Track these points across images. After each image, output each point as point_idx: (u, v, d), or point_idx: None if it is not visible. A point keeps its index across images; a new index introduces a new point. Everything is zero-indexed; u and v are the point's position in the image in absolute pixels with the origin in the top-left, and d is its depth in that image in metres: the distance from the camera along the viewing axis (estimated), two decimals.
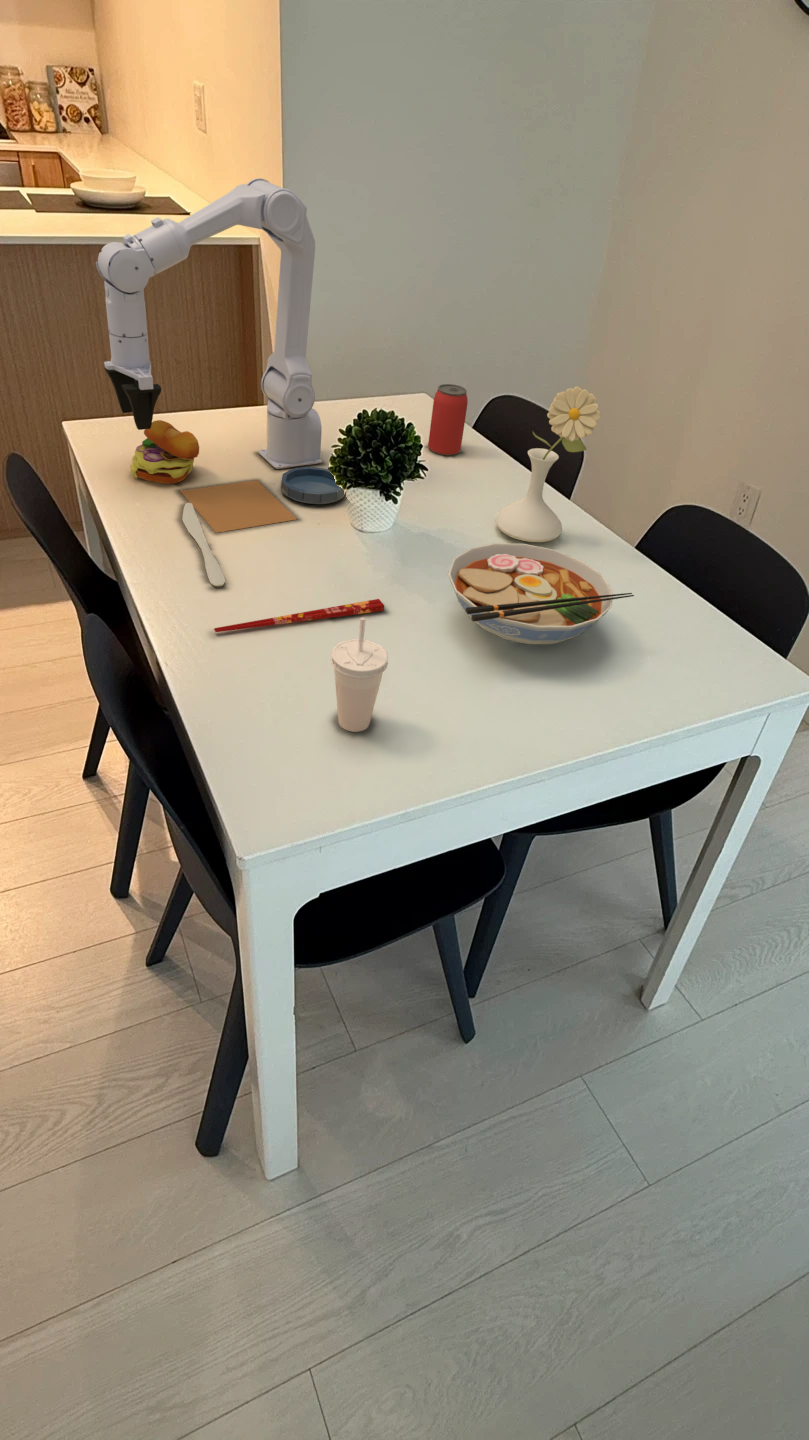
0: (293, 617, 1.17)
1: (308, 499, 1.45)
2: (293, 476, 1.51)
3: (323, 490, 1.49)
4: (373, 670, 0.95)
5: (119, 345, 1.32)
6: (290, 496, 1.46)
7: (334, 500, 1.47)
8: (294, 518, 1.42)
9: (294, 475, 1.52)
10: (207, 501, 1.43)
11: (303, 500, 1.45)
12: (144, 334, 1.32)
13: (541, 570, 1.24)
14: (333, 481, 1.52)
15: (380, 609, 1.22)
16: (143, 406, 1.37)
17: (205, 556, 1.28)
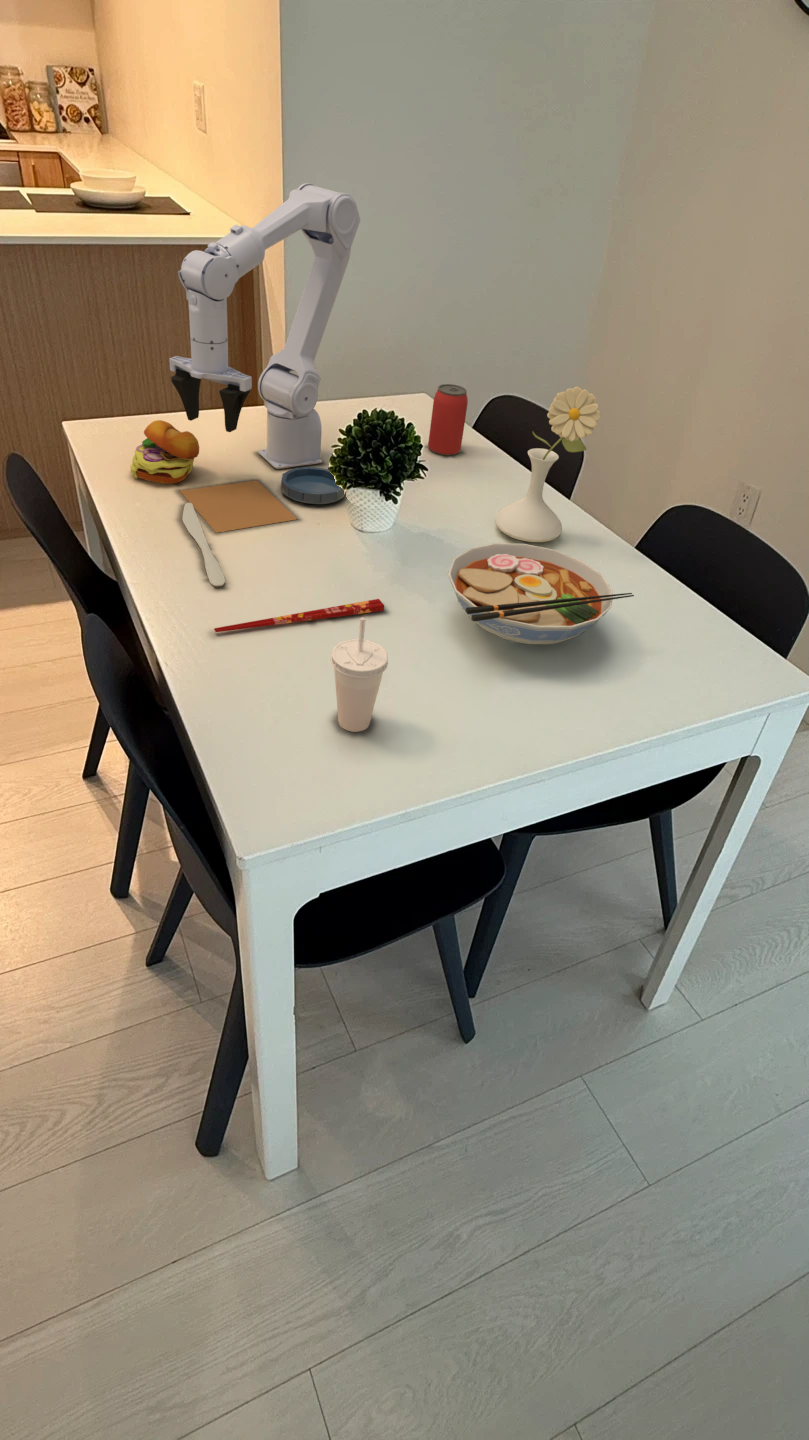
0: (293, 617, 1.17)
1: (308, 499, 1.45)
2: (293, 476, 1.51)
3: (323, 490, 1.49)
4: (373, 670, 0.95)
5: (211, 352, 1.34)
6: (290, 496, 1.46)
7: (334, 500, 1.47)
8: (294, 518, 1.42)
9: (294, 475, 1.52)
10: (207, 501, 1.43)
11: (303, 500, 1.45)
12: (227, 337, 1.36)
13: (541, 570, 1.24)
14: (333, 481, 1.52)
15: (380, 609, 1.22)
16: (233, 408, 1.41)
17: (205, 556, 1.28)
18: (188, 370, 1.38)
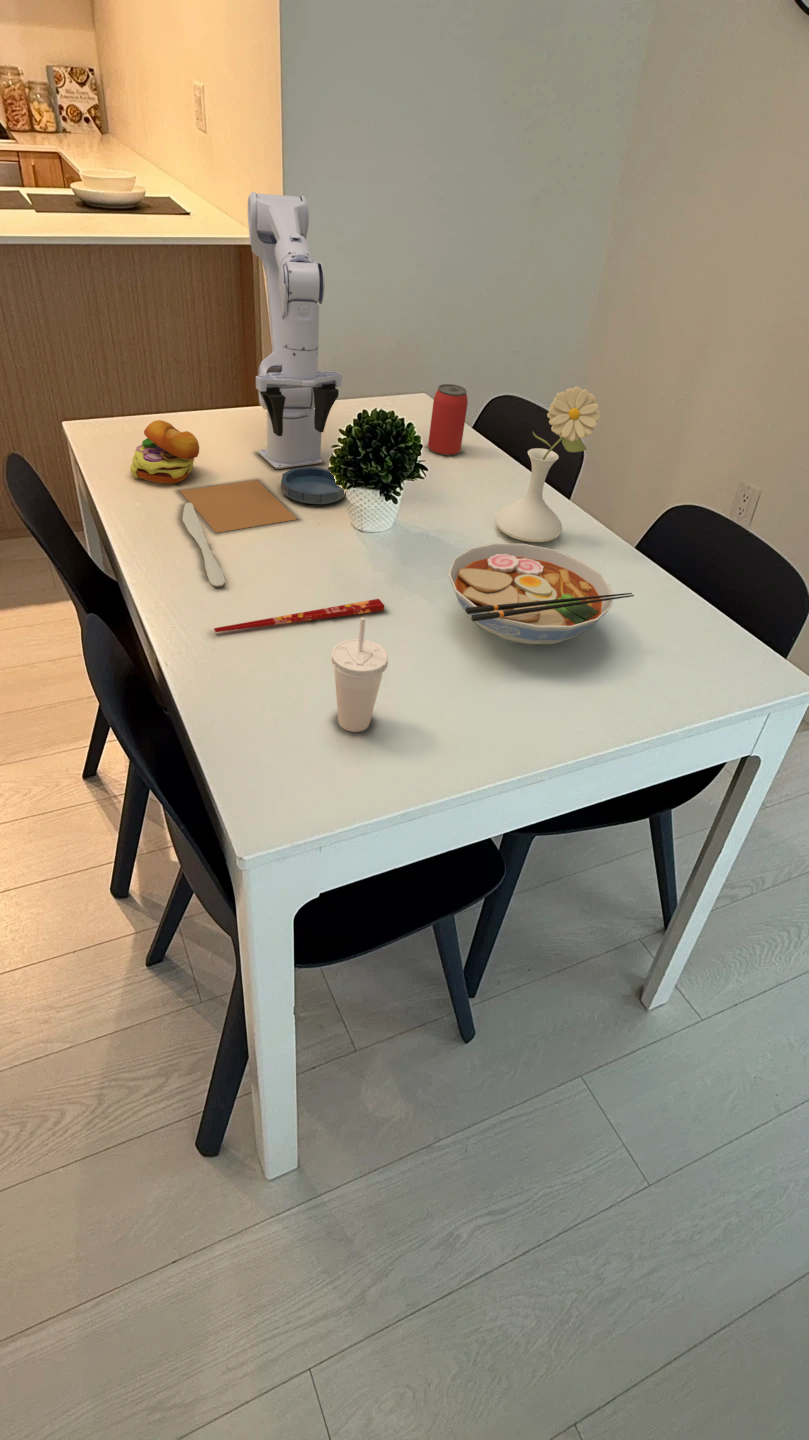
0: (293, 617, 1.17)
1: (308, 499, 1.45)
2: (293, 476, 1.51)
3: (323, 490, 1.49)
4: (373, 670, 0.95)
5: (316, 357, 1.38)
6: (290, 496, 1.46)
7: (334, 500, 1.47)
8: (294, 518, 1.42)
9: (294, 475, 1.52)
10: (207, 501, 1.43)
11: (303, 500, 1.45)
12: None
13: (541, 570, 1.24)
14: (333, 481, 1.52)
15: (380, 609, 1.22)
16: None
17: (205, 556, 1.28)
18: (292, 383, 1.38)
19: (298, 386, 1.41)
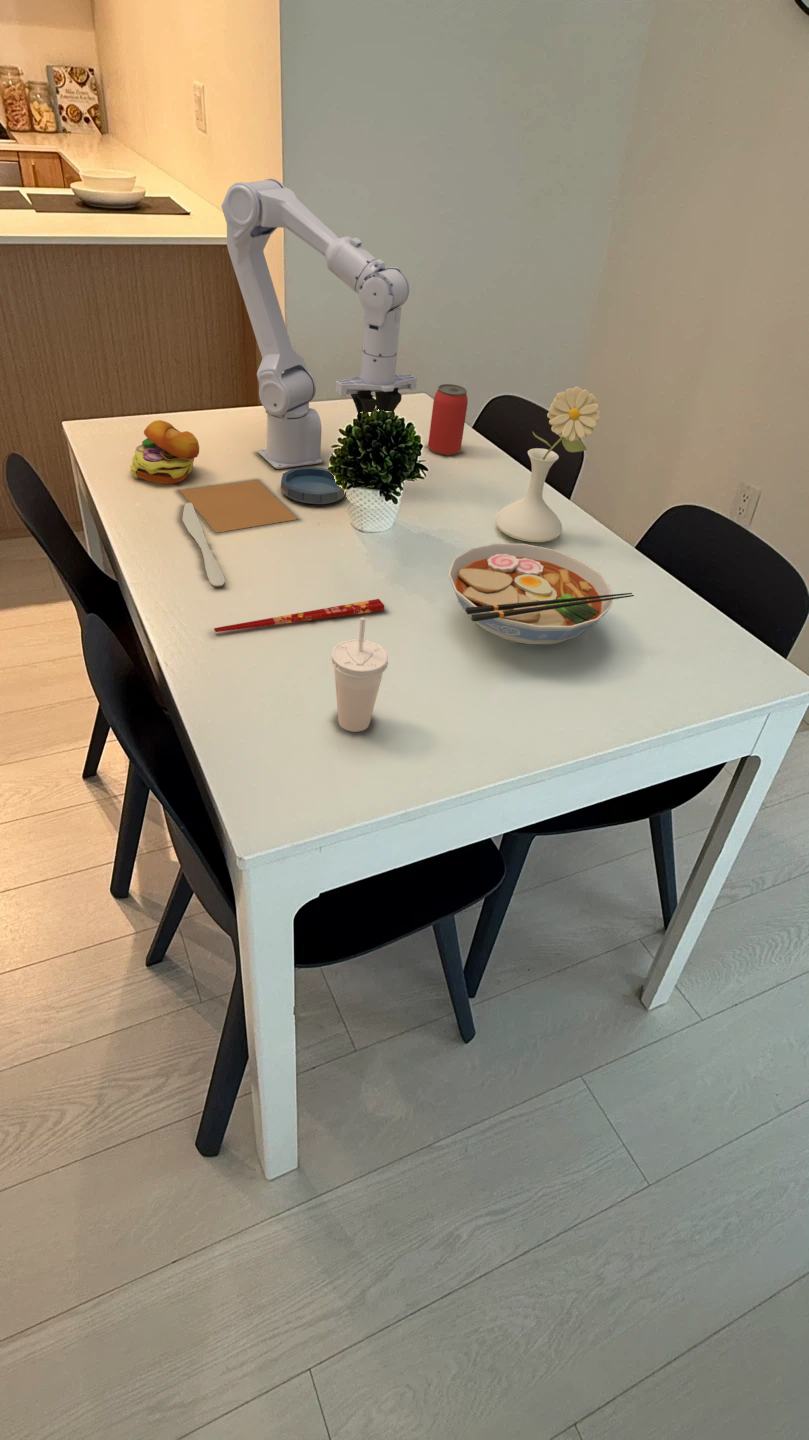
0: (293, 617, 1.17)
1: (308, 499, 1.45)
2: (293, 476, 1.51)
3: (323, 490, 1.49)
4: (373, 670, 0.95)
5: (395, 363, 1.41)
6: (290, 496, 1.46)
7: (334, 500, 1.47)
8: (294, 518, 1.42)
9: (294, 475, 1.52)
10: (207, 501, 1.43)
11: (303, 500, 1.45)
12: None
13: (541, 570, 1.24)
14: (333, 481, 1.52)
15: (380, 609, 1.22)
16: None
17: (205, 556, 1.28)
18: (371, 388, 1.41)
19: (375, 390, 1.44)
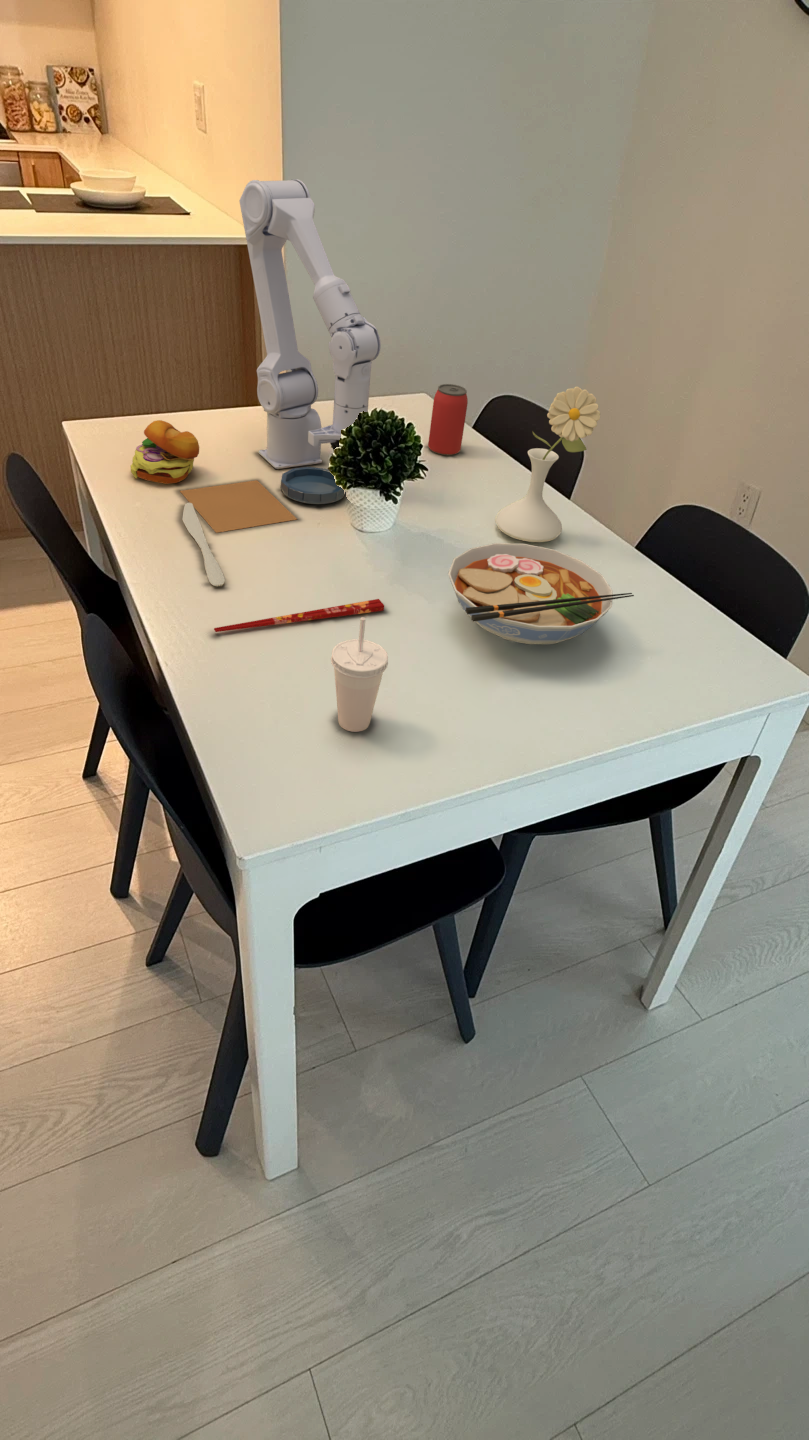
0: (293, 617, 1.17)
1: (308, 499, 1.45)
2: (293, 476, 1.51)
3: (323, 490, 1.49)
4: (373, 670, 0.95)
5: None
6: (290, 496, 1.46)
7: (334, 500, 1.47)
8: (294, 518, 1.42)
9: (294, 475, 1.52)
10: (207, 501, 1.43)
11: (303, 500, 1.45)
12: None
13: (541, 570, 1.24)
14: (333, 481, 1.52)
15: (380, 609, 1.22)
16: None
17: (204, 556, 1.28)
18: None
19: None
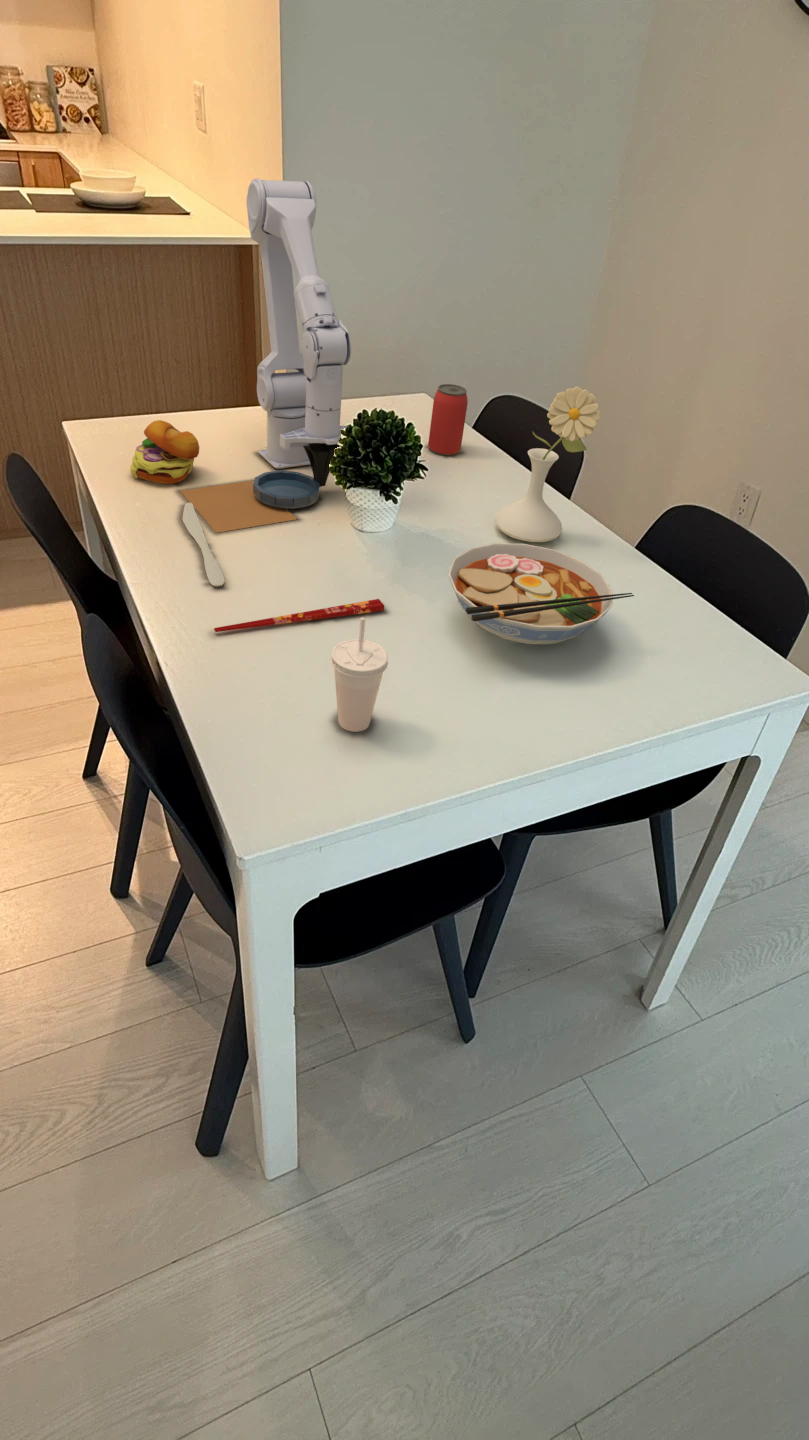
0: (293, 617, 1.17)
1: (280, 503, 1.43)
2: (266, 480, 1.49)
3: (296, 494, 1.46)
4: (373, 670, 0.95)
5: (339, 416, 1.42)
6: (262, 500, 1.44)
7: (307, 504, 1.44)
8: (294, 518, 1.42)
9: (267, 479, 1.49)
10: (207, 501, 1.43)
11: (275, 504, 1.43)
12: None
13: (541, 570, 1.24)
14: (306, 485, 1.50)
15: (380, 609, 1.22)
16: None
17: (204, 556, 1.28)
18: (315, 441, 1.42)
19: None
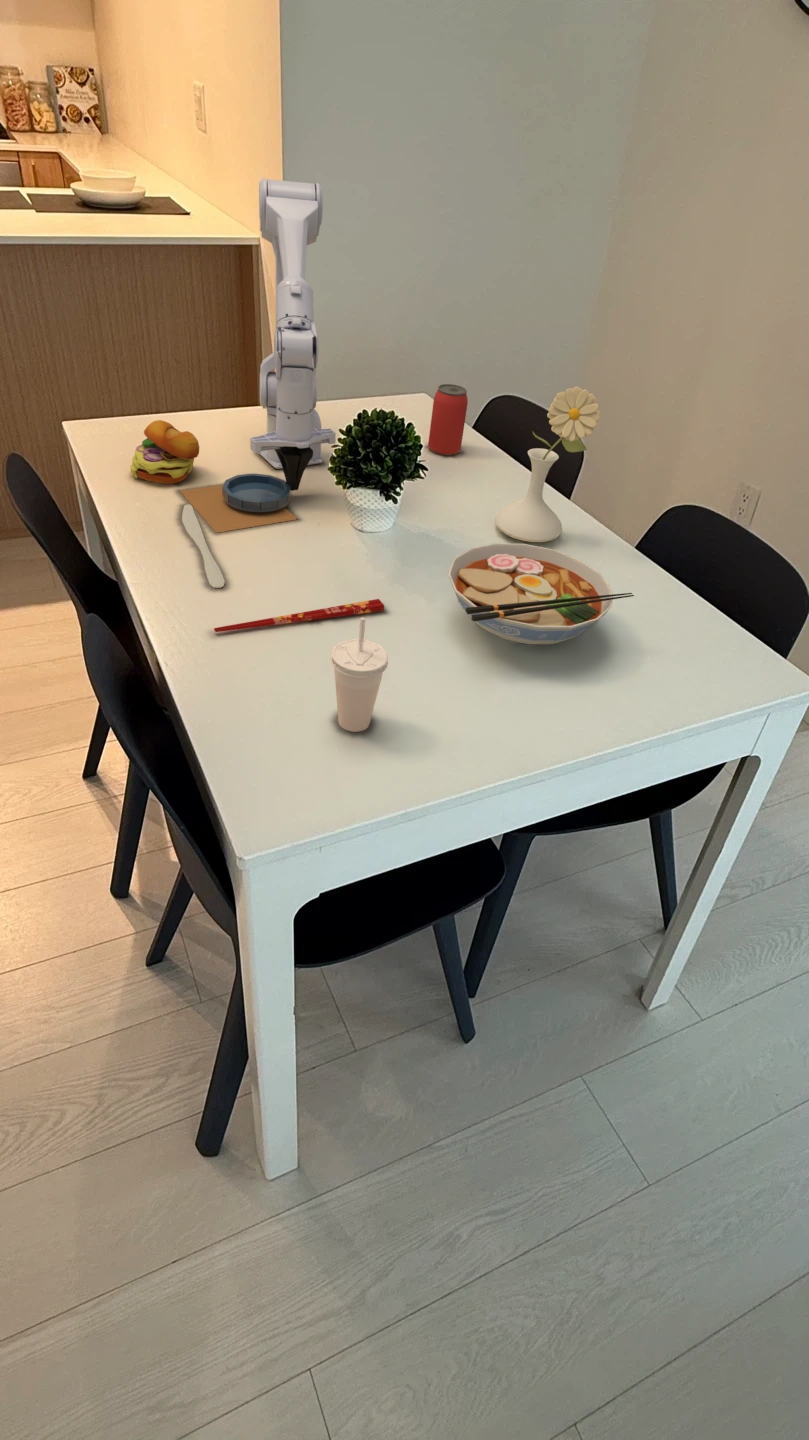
0: (293, 617, 1.17)
1: (247, 507, 1.40)
2: (237, 483, 1.47)
3: (266, 498, 1.44)
4: (373, 670, 0.95)
5: (310, 419, 1.39)
6: (230, 503, 1.41)
7: (275, 508, 1.42)
8: (294, 518, 1.42)
9: (239, 482, 1.47)
10: (207, 501, 1.43)
11: (243, 507, 1.41)
12: None
13: (541, 570, 1.24)
14: (279, 489, 1.47)
15: (380, 609, 1.22)
16: None
17: (204, 557, 1.28)
18: (286, 444, 1.39)
19: None
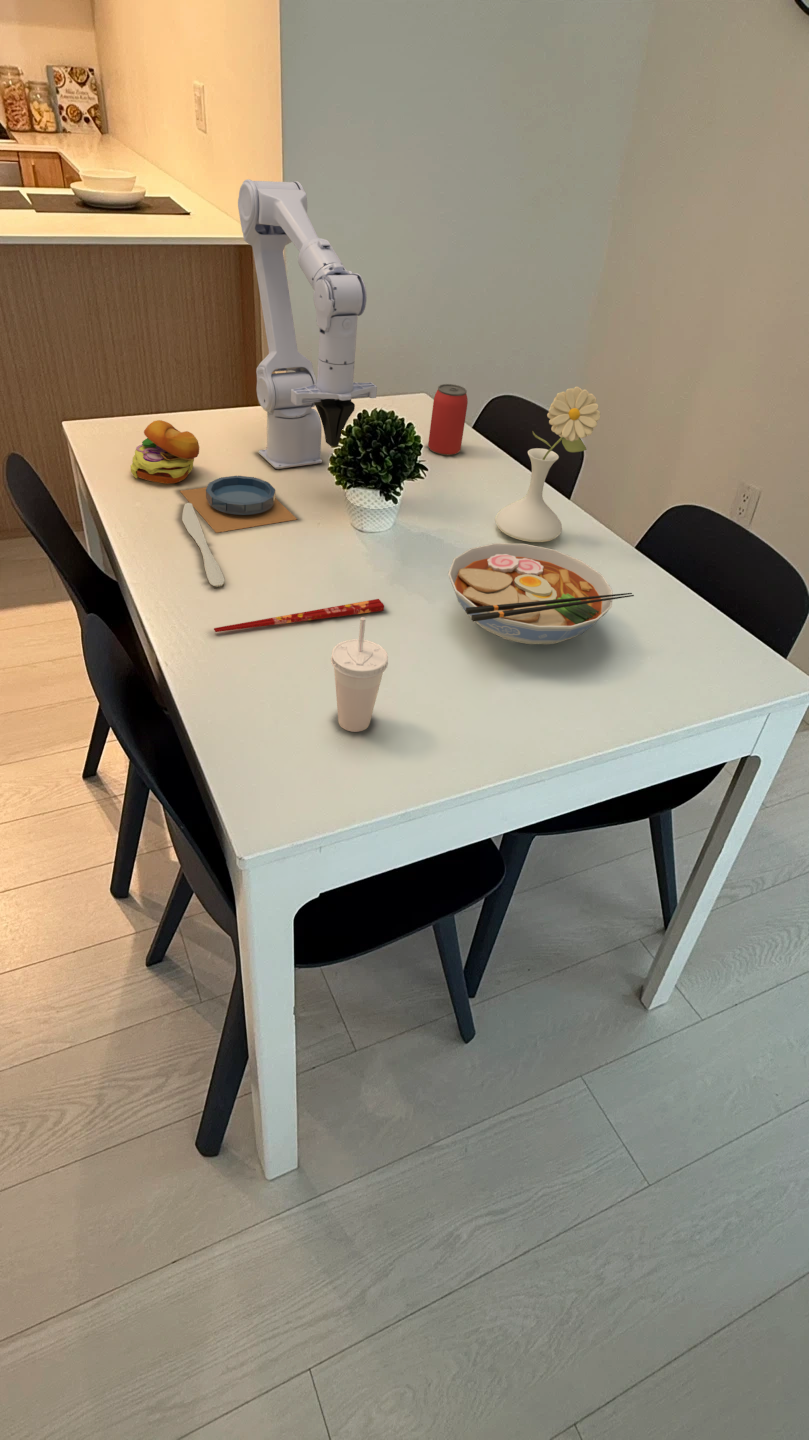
0: (293, 617, 1.17)
1: (232, 510, 1.39)
2: (221, 485, 1.45)
3: (250, 500, 1.43)
4: (373, 670, 0.95)
5: (353, 371, 1.36)
6: (214, 506, 1.40)
7: (260, 511, 1.41)
8: (294, 518, 1.42)
9: (223, 485, 1.46)
10: (207, 501, 1.43)
11: (227, 510, 1.39)
12: None
13: (541, 570, 1.24)
14: (263, 491, 1.46)
15: (380, 609, 1.22)
16: None
17: (204, 556, 1.28)
18: (327, 397, 1.36)
19: (333, 398, 1.39)
